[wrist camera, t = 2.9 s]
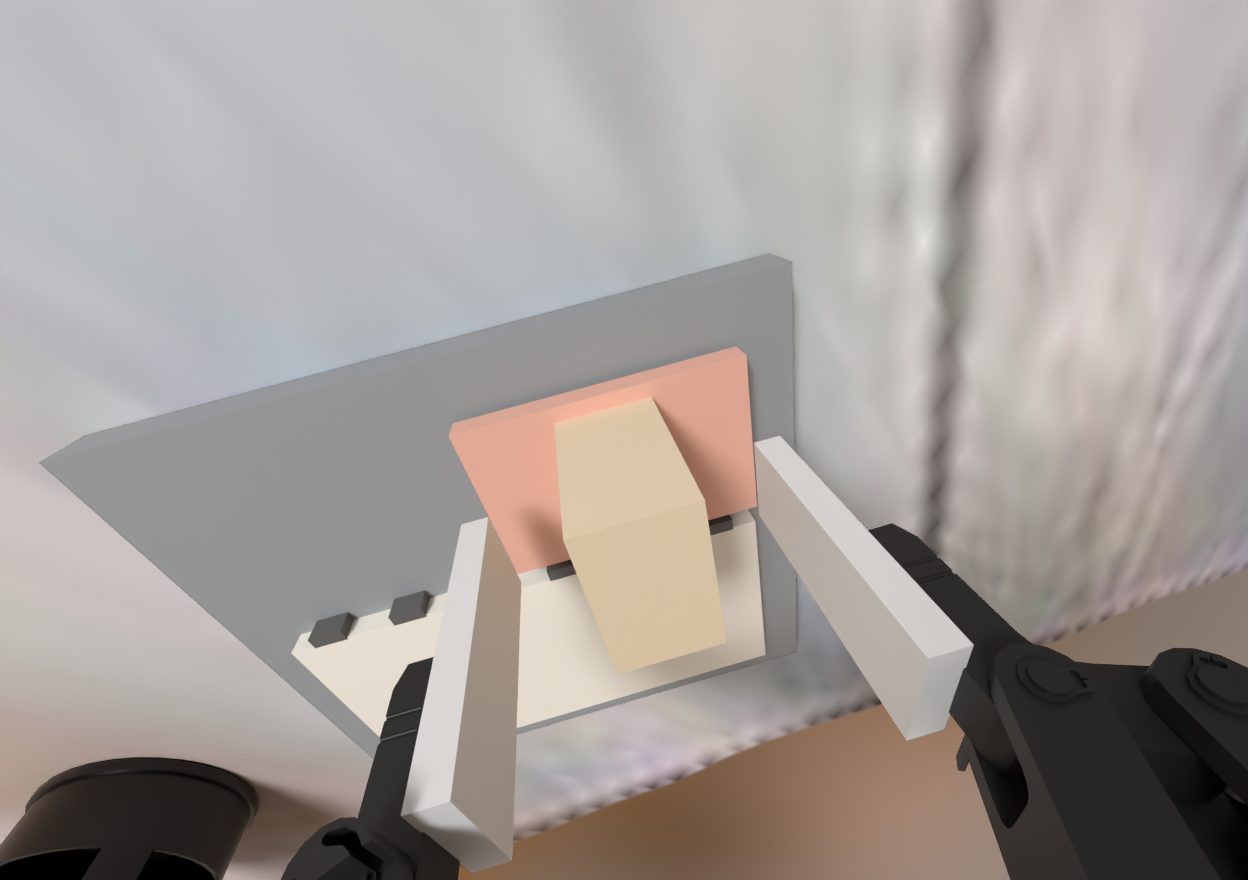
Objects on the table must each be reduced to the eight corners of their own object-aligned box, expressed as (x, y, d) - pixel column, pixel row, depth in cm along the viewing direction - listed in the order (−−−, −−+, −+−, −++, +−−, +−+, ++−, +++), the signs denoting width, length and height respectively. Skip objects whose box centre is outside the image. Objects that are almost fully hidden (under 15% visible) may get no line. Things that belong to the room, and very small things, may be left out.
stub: (736, 346, 14) (844, 440, 9) (748, 493, 17) (834, 622, 12) (452, 423, 14) (406, 564, 9) (518, 558, 17) (511, 717, 12)
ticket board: (769, 253, 15) (806, 266, 13) (783, 627, 25) (805, 666, 23) (84, 435, 14) (8, 480, 12) (396, 741, 24) (383, 792, 22)
